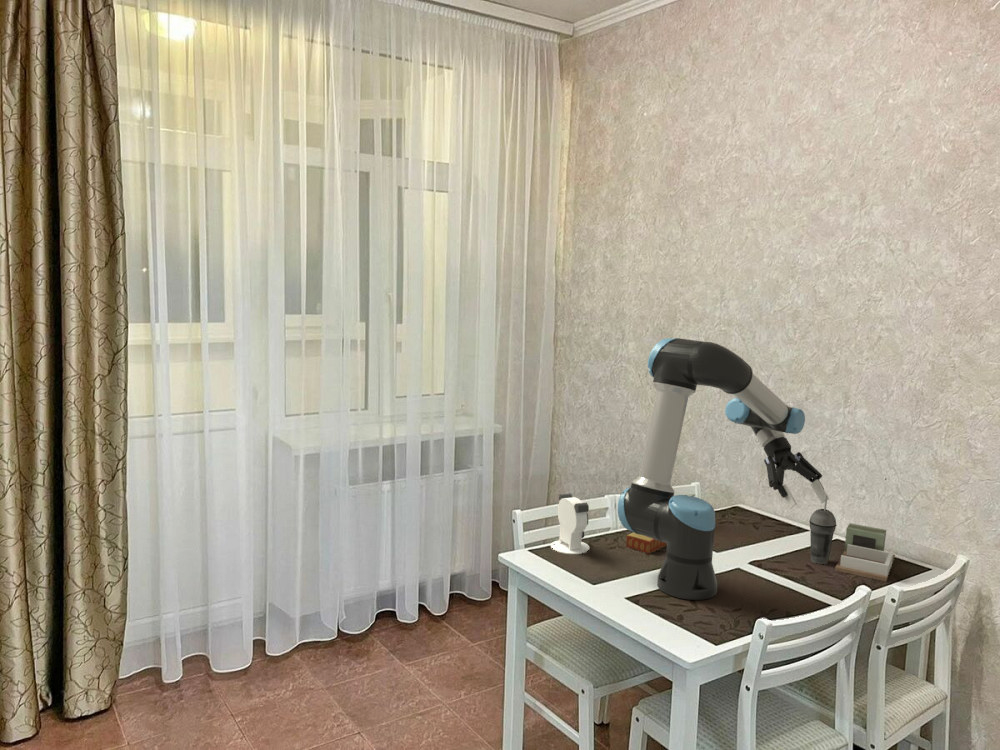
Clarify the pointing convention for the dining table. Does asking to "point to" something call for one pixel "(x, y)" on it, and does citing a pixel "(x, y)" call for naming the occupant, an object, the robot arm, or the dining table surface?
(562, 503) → the white upright piece
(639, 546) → the carton
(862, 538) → the desk organizer
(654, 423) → the robot arm
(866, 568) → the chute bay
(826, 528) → the beverage cup
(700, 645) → the dining table surface
